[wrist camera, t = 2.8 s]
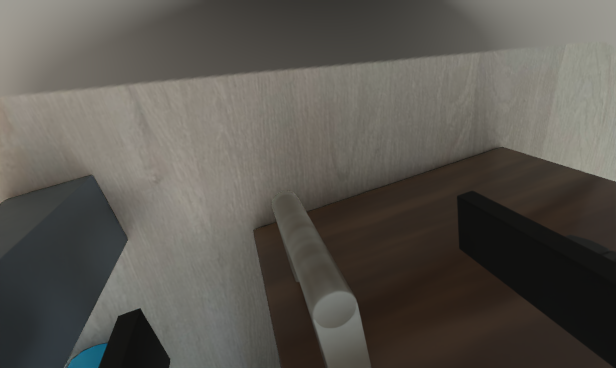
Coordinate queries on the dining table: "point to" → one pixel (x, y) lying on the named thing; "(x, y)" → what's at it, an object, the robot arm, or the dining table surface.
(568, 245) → the robot arm
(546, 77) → the dining table surface
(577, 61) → the dining table surface
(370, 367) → the door
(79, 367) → the mug
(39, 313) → the stand
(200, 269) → the dining table surface
